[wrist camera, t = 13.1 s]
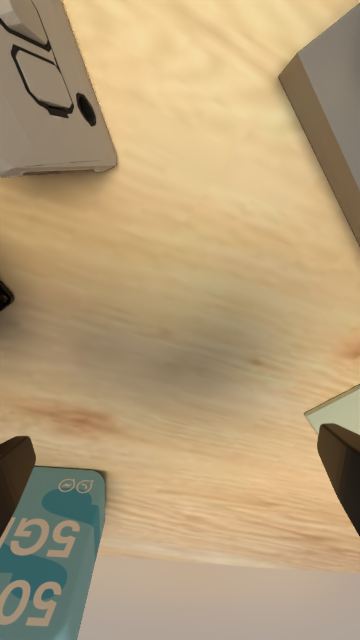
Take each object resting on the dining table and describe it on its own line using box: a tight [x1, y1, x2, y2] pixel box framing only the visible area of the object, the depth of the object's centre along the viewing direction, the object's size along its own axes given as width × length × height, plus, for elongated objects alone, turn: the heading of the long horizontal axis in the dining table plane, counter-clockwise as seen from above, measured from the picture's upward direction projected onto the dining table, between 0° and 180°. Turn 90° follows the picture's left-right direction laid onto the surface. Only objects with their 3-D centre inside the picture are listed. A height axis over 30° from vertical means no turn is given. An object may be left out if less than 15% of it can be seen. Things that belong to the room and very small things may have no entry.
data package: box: [0, 467, 105, 640], centre depth 23 cm, size 12×4×12 cm, turn 85°
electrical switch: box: [0, 0, 117, 178], centre depth 13 cm, size 9×5×9 cm, turn 18°
